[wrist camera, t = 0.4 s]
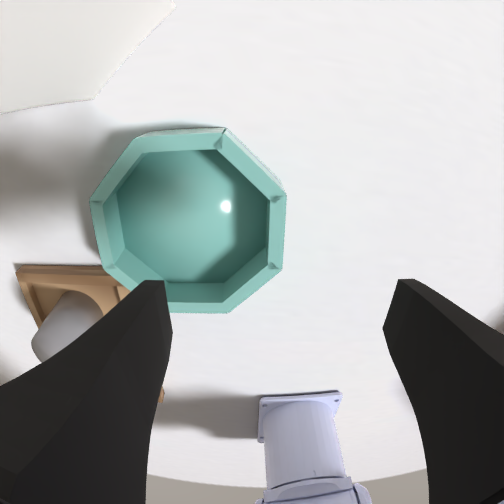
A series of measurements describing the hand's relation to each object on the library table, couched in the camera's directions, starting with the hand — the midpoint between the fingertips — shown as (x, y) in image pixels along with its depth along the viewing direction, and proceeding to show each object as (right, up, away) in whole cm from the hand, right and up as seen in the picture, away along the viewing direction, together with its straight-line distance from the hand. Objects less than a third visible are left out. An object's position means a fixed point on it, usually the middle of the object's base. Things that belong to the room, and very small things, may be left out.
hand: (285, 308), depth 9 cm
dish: (-5, +4, +9) cm, 11 cm away
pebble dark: (-14, -3, +12) cm, 19 cm away
